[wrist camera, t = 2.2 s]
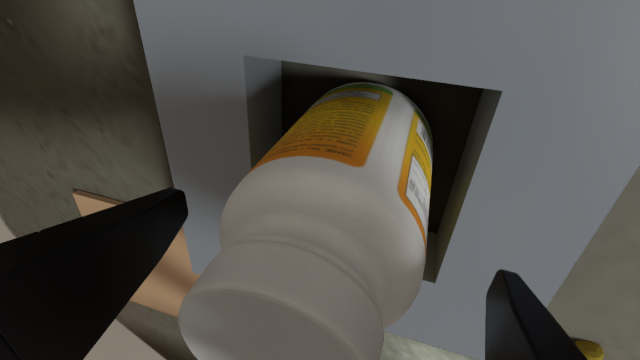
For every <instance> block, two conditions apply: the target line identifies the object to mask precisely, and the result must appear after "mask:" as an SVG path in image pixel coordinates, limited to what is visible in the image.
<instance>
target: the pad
mask: <svg viewBox="0 0 640 360" xmlns="http://www.w3.org/2000/svg"><path fill="white" fill-rule="evenodd" d="M72 194H73V196H74V199H75V201H76V203H77V206H78V208H79V210H80V213H81V215H82V217H83V216H86V215H89V214H92V213H95V212H98V211H101V210H104V209H107V208H110V207H113V206H116V205H119V204H122V203H125V202H121V201H117V200H114V199H110V198H106V197H102V196H99V195H95V194H91V193H87V192H84V191H80V190H77V191H75V192H74V193H72ZM200 276H201V275H199V274H196V273H193V271H192V266H191V262H190V257H189V253H188V248H187V244H186V239H185V234H184V230H183V226H182V227H181V229H180V231H179V232H178V234H177V235H176V237H175V239H174V240H173V242H172V243H171V245H170V247H169V248H168V250H167V251H166V253H165V254H164V256H163V257H162V259H161V260H160V261H159V263H158V264H157V266H156V267H155V268H154V269H153V271H152V272H151V273H150V274H149V276H148V277H147V278H146V280H145V281H144V282H143V283H142V285H141V286H140V287H139V289H138V290H137V291H136V292H135V294H134V295H133V296H132V298H131V299H130V300H129V301H132V302H135V303H138V304H141V305H144V306H147V307H150V308H153V309H156V310H159V311H161V312H164V313H167V314H170V315H173V316H176V317H178V313H179V309H180V306H181V304H182V301H183V300H184V298H185V296H186V295H187V294H188V292H189V291H190V290H191V288H192V287H193V286H194V284H195V283H196V281H197V280H198V279H199V277H200Z"/></svg>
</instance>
